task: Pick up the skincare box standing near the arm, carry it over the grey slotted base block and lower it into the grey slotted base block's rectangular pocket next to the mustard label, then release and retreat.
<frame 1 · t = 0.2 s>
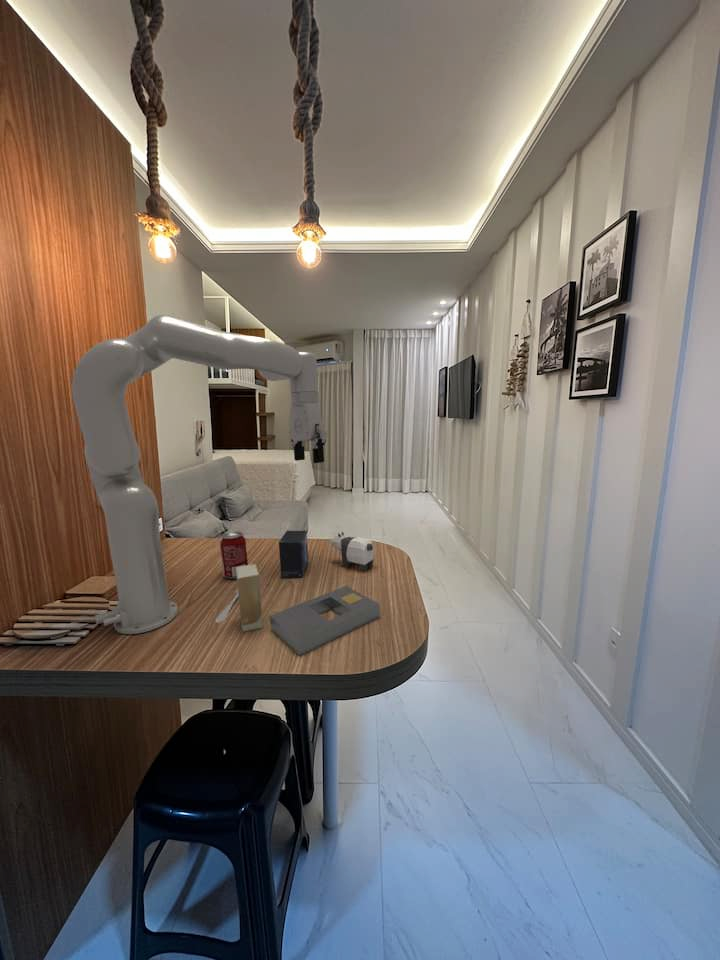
hand: (309, 461, 107), 31 cm above the breakfast bar, fingers open, 9 cm apart
giant panda: (353, 566, 110), on the breakfast bar
small box: (295, 571, 109), on the breakfast bar
skincare box: (252, 623, 82), on the breakfast bar
spoon: (233, 606, 90), on the breakfast bar
grey slotted base block: (326, 622, 81), on the breakfast bar
soda can: (236, 575, 107), on the breakfast bar
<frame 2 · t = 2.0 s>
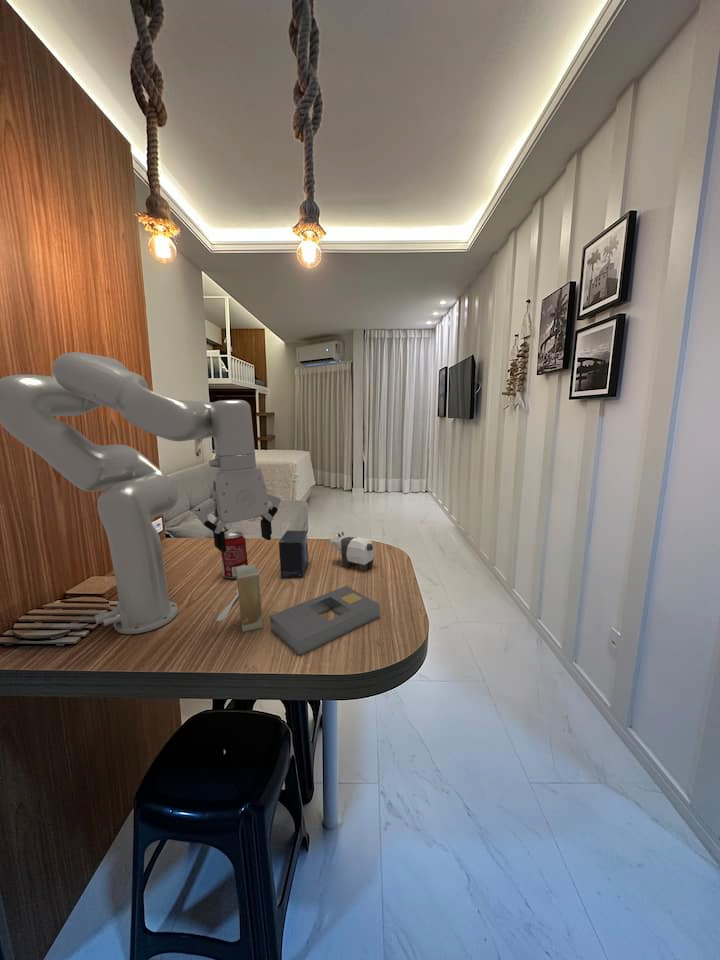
hand: (245, 544, 79), 18 cm above the breakfast bar, fingers open, 9 cm apart
nothing on the breakfast bar moved.
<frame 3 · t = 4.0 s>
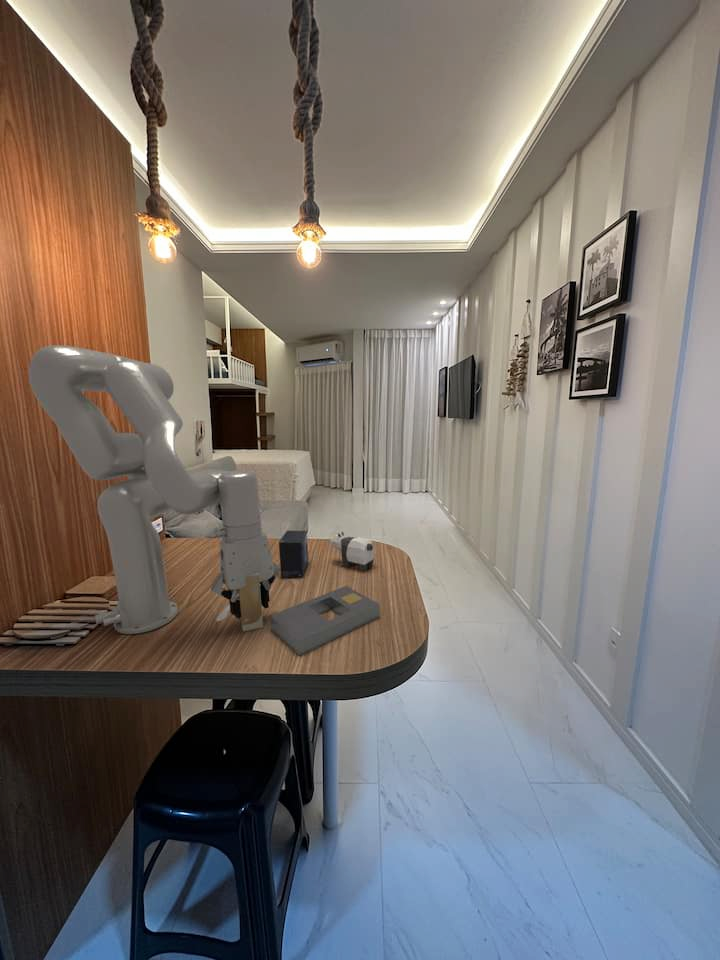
hand: (250, 610, 81), 3 cm above the breakfast bar, fingers closed on skincare box, 5 cm apart
skincare box: (252, 623, 82), on the breakfast bar, touching gripper
everything else where it was.
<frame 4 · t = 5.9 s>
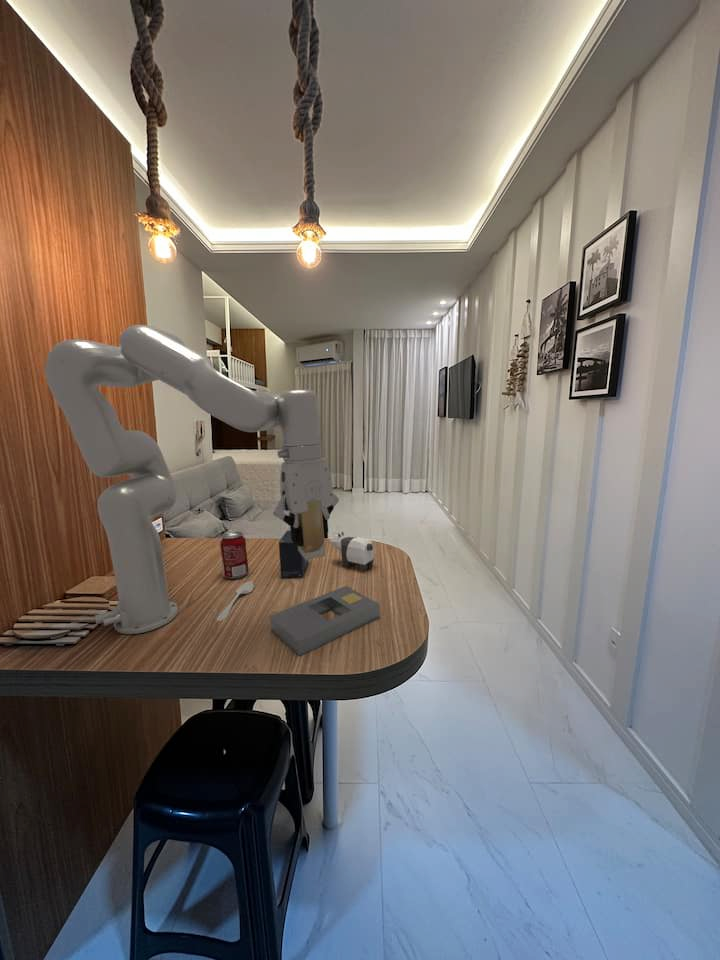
hand: (310, 540, 78), 18 cm above the breakfast bar, fingers closed on skincare box, 5 cm apart
skincare box: (312, 554, 79), point 15 cm above the breakfast bar, touching gripper
everything else where it was.
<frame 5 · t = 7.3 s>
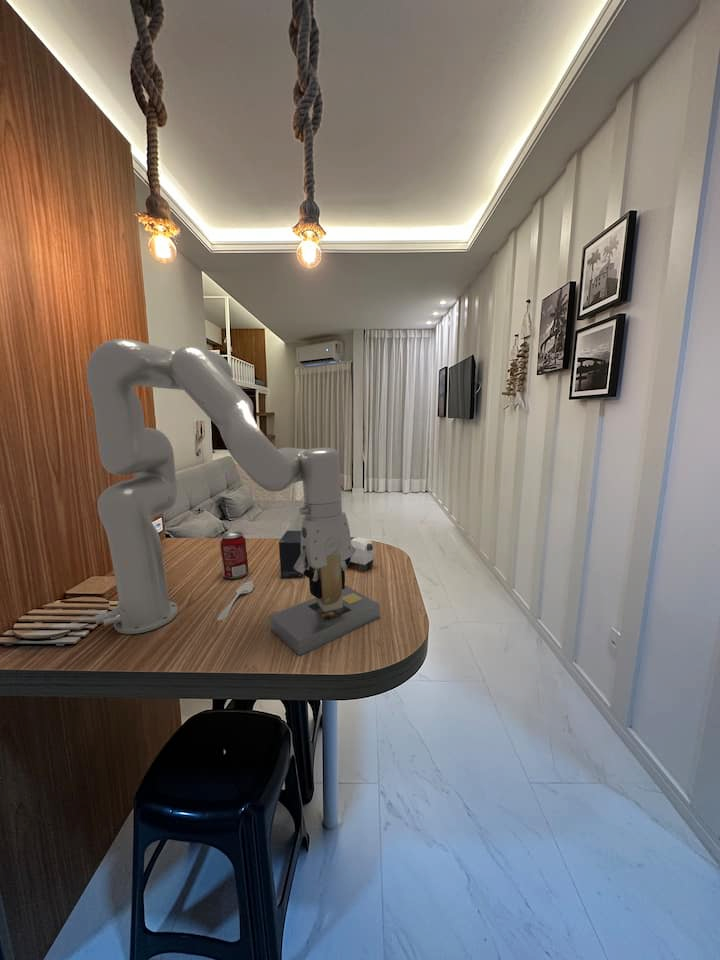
hand: (328, 590, 80), 7 cm above the breakfast bar, fingers closed on skincare box, 5 cm apart
skincare box: (329, 604, 81), point 4 cm above the breakfast bar, touching gripper
everything else where it was.
when the fingers open (4 cm above the breakfast bar, at t = 8.1 s): skincare box drops 1 cm, resting in grey slotted base block.
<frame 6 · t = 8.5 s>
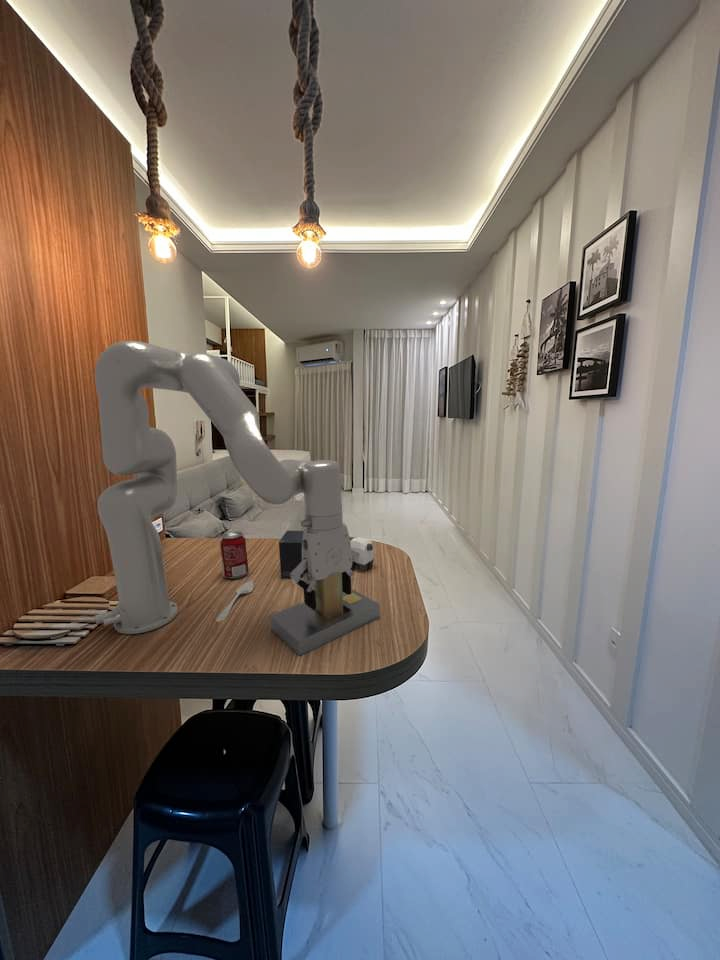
hand: (328, 599, 81), 5 cm above the breakfast bar, fingers open, 8 cm apart
skincare box: (329, 621, 82), resting in grey slotted base block
everything else where it was.
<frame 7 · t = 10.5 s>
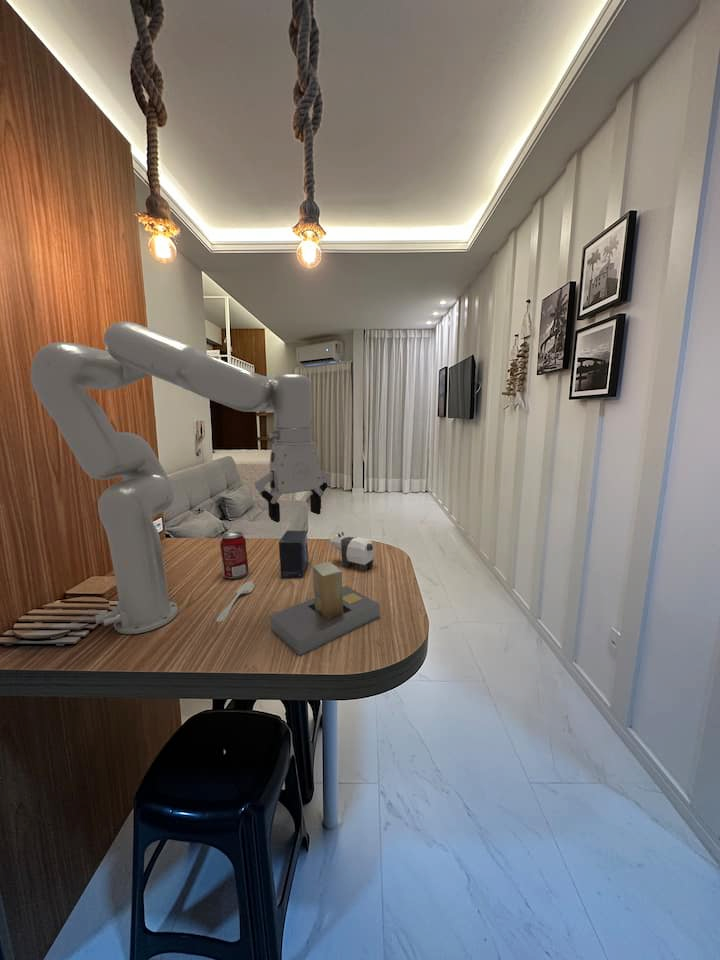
hand: (296, 516, 81), 23 cm above the breakfast bar, fingers open, 9 cm apart
nothing on the breakfast bar moved.
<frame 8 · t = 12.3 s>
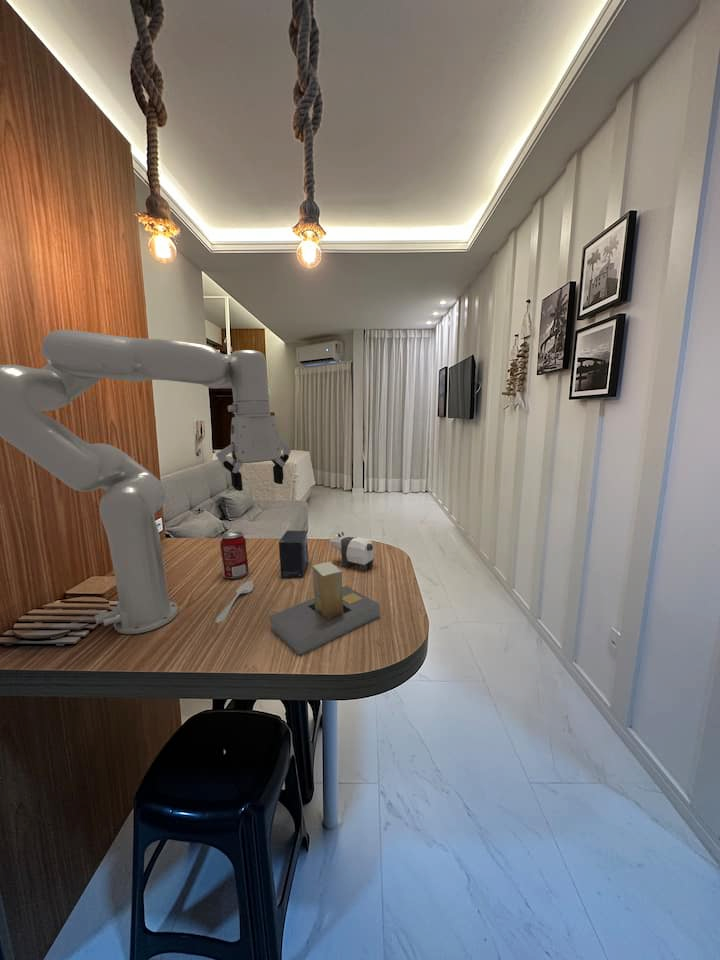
hand: (259, 486, 86), 28 cm above the breakfast bar, fingers open, 9 cm apart
nothing on the breakfast bar moved.
at the end: skincare box inside the target area on the grey slotted base block (0.1 cm from its centre), point 0.0 cm above the grey slotted base block's base; skincare box tilted 0°; the gripper is holding nothing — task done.
